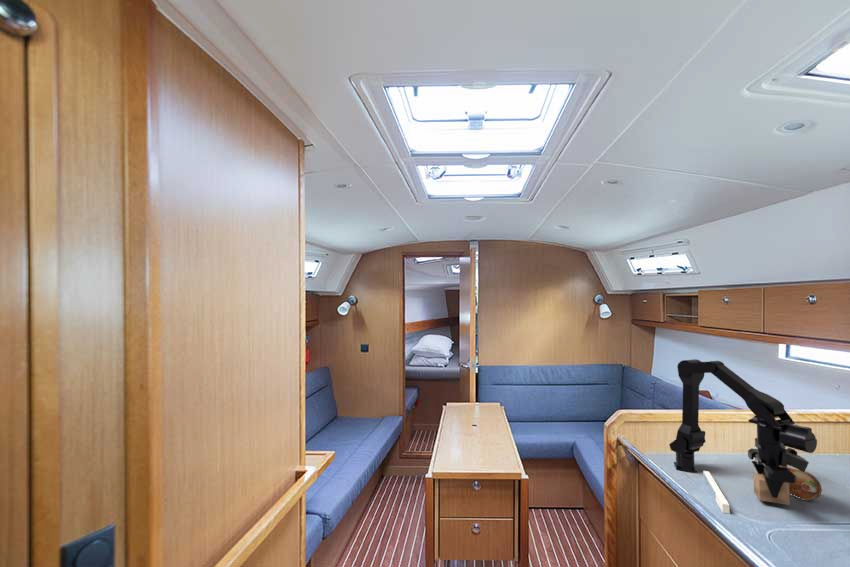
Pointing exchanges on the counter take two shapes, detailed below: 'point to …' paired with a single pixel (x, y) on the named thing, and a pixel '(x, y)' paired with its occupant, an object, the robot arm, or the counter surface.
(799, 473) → the tin
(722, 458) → the counter surface
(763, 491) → the tea box
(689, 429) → the robot arm
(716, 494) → the rail
